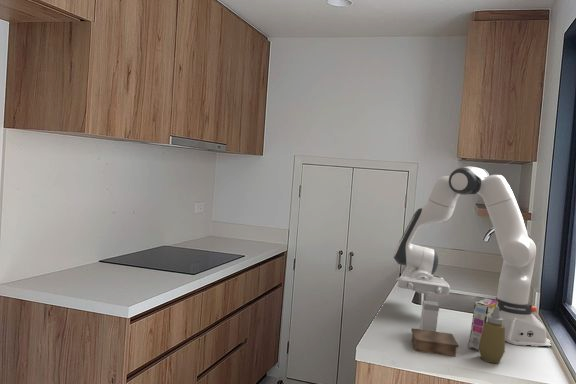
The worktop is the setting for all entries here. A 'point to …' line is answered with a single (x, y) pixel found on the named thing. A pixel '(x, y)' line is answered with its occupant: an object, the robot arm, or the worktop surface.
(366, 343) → the worktop surface
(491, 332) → the squeeze bottle
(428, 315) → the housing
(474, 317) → the candy bar box
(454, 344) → the stand
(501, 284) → the robot arm
